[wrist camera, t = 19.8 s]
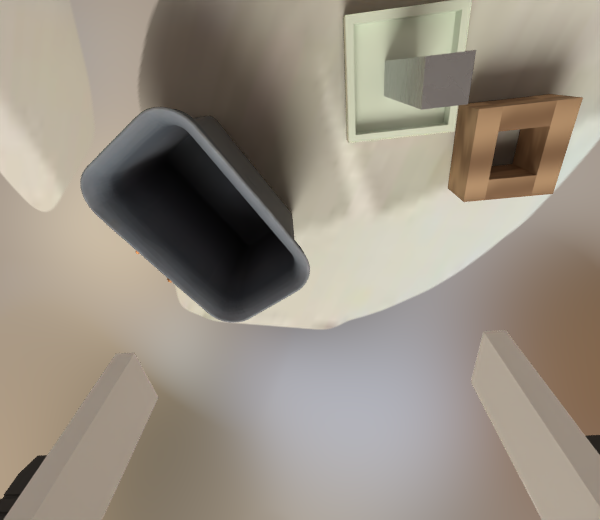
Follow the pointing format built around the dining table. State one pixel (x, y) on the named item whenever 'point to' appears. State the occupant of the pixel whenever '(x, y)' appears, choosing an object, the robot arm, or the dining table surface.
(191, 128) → the storage bin
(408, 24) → the tray
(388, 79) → the grey wooden beam
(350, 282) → the dining table surface
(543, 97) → the hollow wooden square
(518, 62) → the dining table surface
